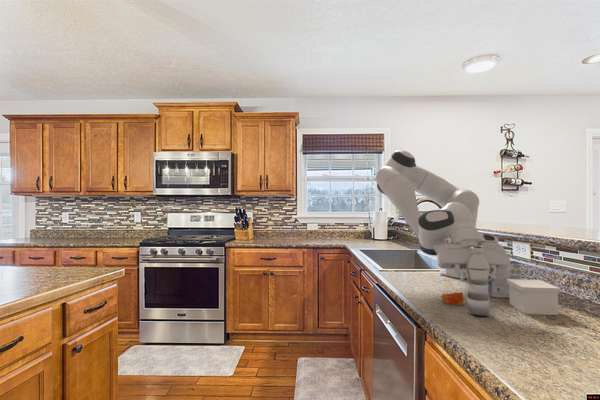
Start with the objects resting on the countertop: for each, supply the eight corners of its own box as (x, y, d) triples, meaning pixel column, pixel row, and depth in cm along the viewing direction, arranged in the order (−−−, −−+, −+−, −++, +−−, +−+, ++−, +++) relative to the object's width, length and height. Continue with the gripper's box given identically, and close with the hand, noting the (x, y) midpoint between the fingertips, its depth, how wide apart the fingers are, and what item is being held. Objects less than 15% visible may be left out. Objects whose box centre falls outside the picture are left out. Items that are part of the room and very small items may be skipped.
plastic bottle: (463, 314, 93) (462, 247, 93) (469, 309, 98) (468, 245, 98) (488, 320, 88) (486, 249, 88) (493, 313, 93) (492, 246, 93)
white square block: (507, 303, 102) (506, 279, 103) (541, 304, 101) (540, 280, 101) (523, 314, 93) (522, 287, 93) (561, 315, 91) (560, 288, 91)
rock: (426, 299, 110) (426, 287, 110) (459, 297, 111) (459, 286, 111) (445, 310, 98) (445, 297, 98) (481, 309, 99) (481, 295, 99)
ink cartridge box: (516, 294, 112) (515, 254, 113) (523, 299, 107) (522, 256, 107) (485, 293, 114) (485, 253, 115) (492, 297, 109) (491, 256, 109)
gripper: (434, 236, 102) (443, 273, 92) (503, 236, 98) (519, 274, 88) (431, 248, 106) (439, 284, 96) (497, 248, 103) (512, 286, 93)
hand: (478, 279), depth 92 cm, fingers open, 6 cm apart
